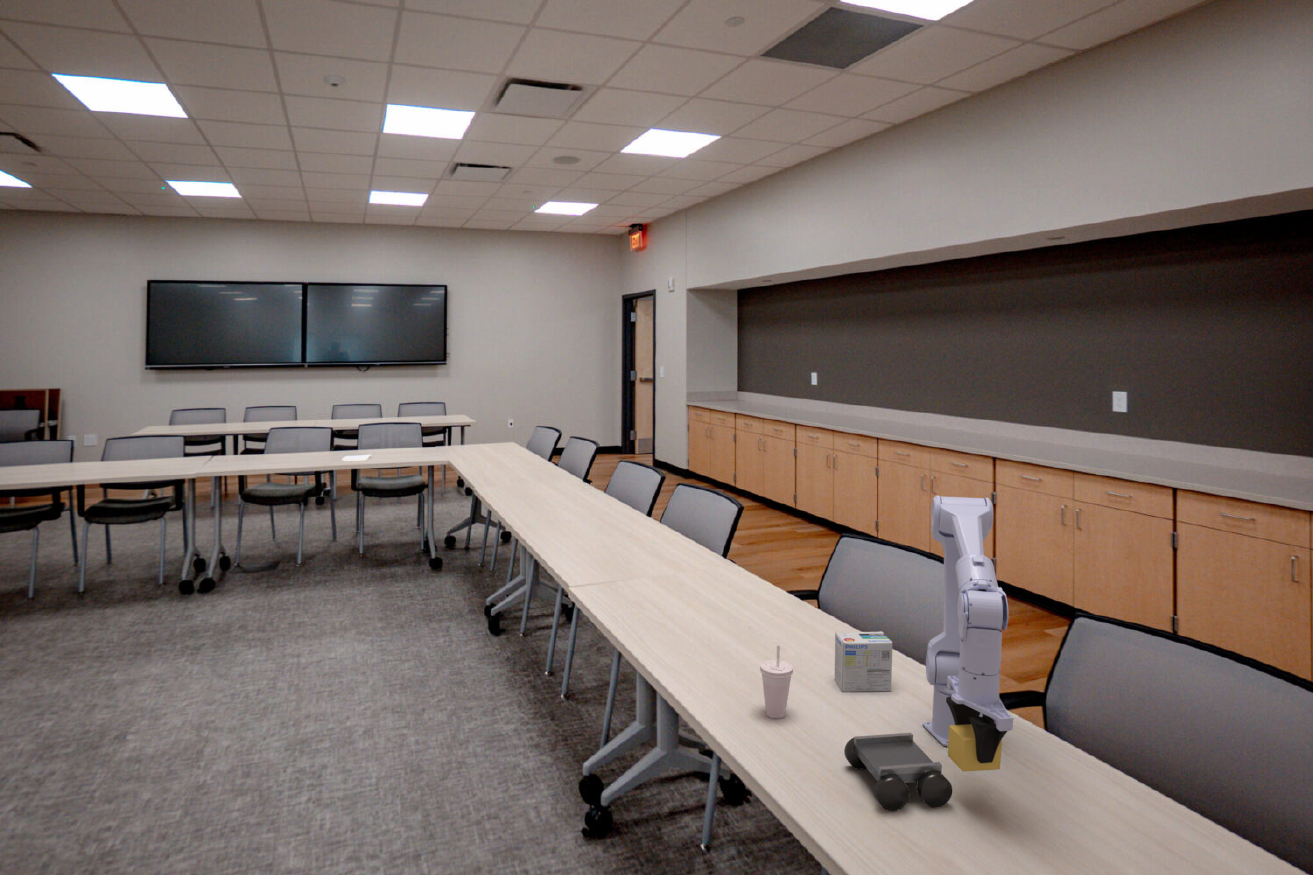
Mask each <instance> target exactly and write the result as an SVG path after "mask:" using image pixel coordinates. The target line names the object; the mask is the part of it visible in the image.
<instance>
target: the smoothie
mask: <svg viewBox="0 0 1313 875" xmlns="http://www.w3.org/2000/svg"><path fill="white" fill-rule="evenodd" d="M780 648H781V647H780V645H779V644H777V645H776V659H767V660H765V661H763V662H761V663H760V665H759V671H760V673H761V679H762V686H763V688H762V689H763V698H764V706H765V714H766V717H769V718H771V719H775V720H776V719H777V720H778V719H783V718H784V717H785V716H786V713H787V706H788V700H789V693H790V692H789V691H790V685H791V679H792V675H793V674H794V666H793V665H792V664H791V663H790V662H788V661H785V660H780V657H781V656H780Z"/></svg>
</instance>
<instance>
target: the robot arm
mask: <svg viewBox="0 0 1313 875" xmlns="http://www.w3.org/2000/svg"><path fill="white" fill-rule="evenodd" d="M930 505H931V508H930V519H931V520H930V533H931V539H933V540H934V541H936V542H939V543H940V544H941V547H942V552H943V631H942V632H941V633H939V634H937V635H936V636H934V637H932V638H931V639H930V640H929V641H928V644H927V647H926V648H927V650H926V651H927V652H926V656H925V658H926V659H925V675H926V681H927V682H928V683H929V684H930V686H933V693H932V694H933V699H932V701H933V702H932V717H931V718H932V720H931V721H925V722H922V726H923V727H924V728H925V730H927V731H928V732H929V733H930V734H931V735H932V736H933V737H934V738H935V739H936V740H937V741H938V742H939V743H940V744H941V745H942V746H945V747H948V738H949V726H950V725H967V724H971V725H972V727H973V730H974V734H975V740H976V756H977V760H978V762H979V763H992V762H993V759H994V756H995V753H996V751H997V748H998V745H999V743H1000V741H1001V740H1003V738H1004V737H1005V735H1006V734H1007V733H1008V731H1010V732H1011V731H1013V730H1014V729H1013V727H1014V726H1013V725H1014V717H1013V716H1011V715H1010V714H1009V712H1008V710H1007V709H1006V707H1005V705H1004V703H1003V701H1002V699H1001V698H1000V683H1001V682H1000V680H1001V679H1000V678H1001V676H1000V675H1001V664H1002V644H1003V643H1002V641H1003V632H1005V631H1006V630H1007V628H1008V624H1009V615H1010V614H1009V612H1010V611H1009V603H1008V598H1007V594H1006V593H1005V591H1003V588H1002V587H1001V586H1000V587H999V585H998V580H997V577H996V576H997V575H996V570H995V566H994V563H993V561H992V560H991V559H990V558H989V557H987V556H986V555H985V551H984V542H985V540H986V539H987V537H988V535H989V533H990V532H991V530H992V528H993V525H994V524H993V523H994V508H993V507H994V505H993V502H992V501H991V500H990V498H988V497H983V498H982V497H981V498H980V497H965V496H963V497H962V496H959V497H958V496H941V495H938V494H937V495H934V497H933V498H932V500H931V504H930Z"/></svg>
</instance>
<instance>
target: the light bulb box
mask: <svg viewBox="0 0 1313 875" xmlns="http://www.w3.org/2000/svg"><path fill="white" fill-rule="evenodd" d="M834 636H835V638H834V639H835V640H834V681H835V682H836V684H837V686H838V688H839V690H840V691H841V693H844V692H850V693H851V692H852V693H853V692H891V691H892V677H893V676H892V674H893V672H892V671H893V641H892V640H891V639H890V638H889V637H888V636H887V635H886V634H885V633H884V632H883V631H854V632H853V631H852V632H851V631H850V632H847V631H841V632H839V631H835V633H834Z"/></svg>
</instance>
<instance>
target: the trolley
mask: <svg viewBox="0 0 1313 875" xmlns="http://www.w3.org/2000/svg"><path fill="white" fill-rule="evenodd" d="M843 751H844V752H843V754H844V757H845V759H846V761H847V762H848V763H849V765H850V766H851V767H852V768H854V769H855V770H866V769H867V770H868V771H869V773H870V774H871V775H872V776H873V777H874V779H875V781H876V782H875V784H874V788H873V795H874V798H875V800H876V802H877V803H878V804H879V805H880V807H881V808H882V809H883V810H885V811H888V812H897V811H899V810H901V809H903V808H904V807H905V806H906V805H907V803H908V802H909V799H910V790H909V787H908V785H907V784H910V783H916V792H917V795H918V797H919V798H920V799H921V800H922V801H923V803H924V804H925V805H926V806H927V807H930V808H934V809H935V808H936V809H937V808H941V807H943V806H945V805H946V804H947V803H948V802H949V801H950V799H951V798H952V796H953V785H952V783H951V782H950V780H948V778H947V777H946V776H945V775H944V774H943V773H942V769H943V765H942V763H941V762H940V761H938V762H937V761H935V762H934V761H933V760H932V759H931V758H930V757H929V756H928V755H927V754H926V753H925V751H923V750H922V749H921V748H920V746H919V745H918V744H917V743H916V742H915V741H914V734H913V733H912V732H901V733H887V734H873V735H872V734H871V735H859V736H858V735H857V736H854V737H852V738H851V739H849V741H847V742H846V744H845V746H844V750H843Z"/></svg>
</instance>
